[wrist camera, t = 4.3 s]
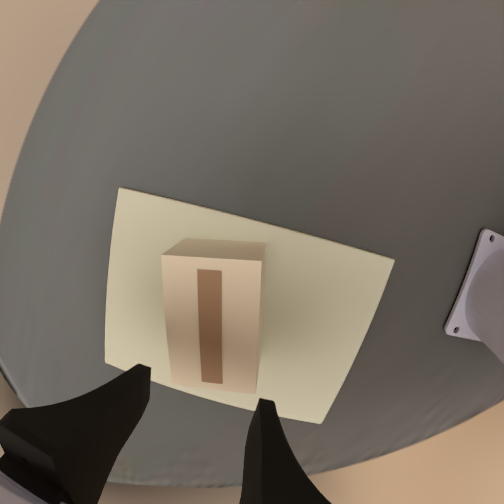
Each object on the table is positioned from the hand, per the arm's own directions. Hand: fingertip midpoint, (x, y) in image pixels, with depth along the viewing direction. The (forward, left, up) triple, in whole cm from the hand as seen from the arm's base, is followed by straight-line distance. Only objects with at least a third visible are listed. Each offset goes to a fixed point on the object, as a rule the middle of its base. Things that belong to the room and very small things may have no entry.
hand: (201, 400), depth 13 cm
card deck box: (+1, -1, -8) cm, 8 cm away
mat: (0, 0, -8) cm, 8 cm away
